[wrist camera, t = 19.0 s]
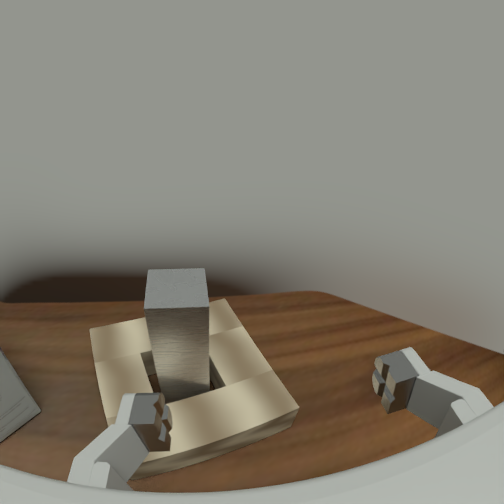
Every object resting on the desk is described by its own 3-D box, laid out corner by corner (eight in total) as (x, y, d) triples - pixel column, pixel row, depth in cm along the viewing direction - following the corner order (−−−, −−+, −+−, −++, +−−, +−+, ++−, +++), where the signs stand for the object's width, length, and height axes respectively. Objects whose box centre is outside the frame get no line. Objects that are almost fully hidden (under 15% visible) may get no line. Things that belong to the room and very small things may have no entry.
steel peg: (205, 374, 32) (204, 268, 24) (210, 408, 28) (209, 306, 21) (164, 375, 31) (148, 269, 23) (165, 410, 27) (143, 308, 20)
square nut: (223, 322, 39) (224, 298, 37) (290, 426, 27) (299, 407, 25) (98, 352, 32) (89, 329, 30) (131, 480, 20) (120, 467, 18)
